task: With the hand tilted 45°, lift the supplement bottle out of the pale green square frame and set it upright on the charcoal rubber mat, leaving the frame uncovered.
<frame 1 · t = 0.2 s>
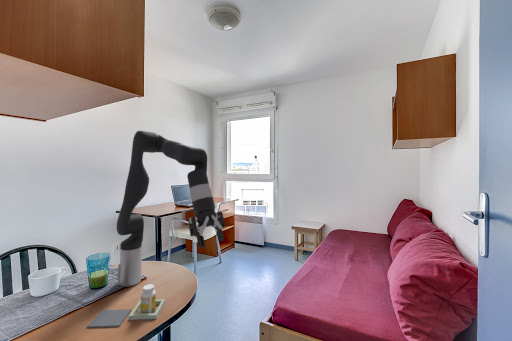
hand: (212, 244, 77), 31 cm above the table, tool tilted 20°, fingers open, 8 cm apart
pale green square frame: (147, 310, 88), on the table
mat: (110, 318, 83), on the table
supplement bottle: (147, 311, 88), resting in pale green square frame
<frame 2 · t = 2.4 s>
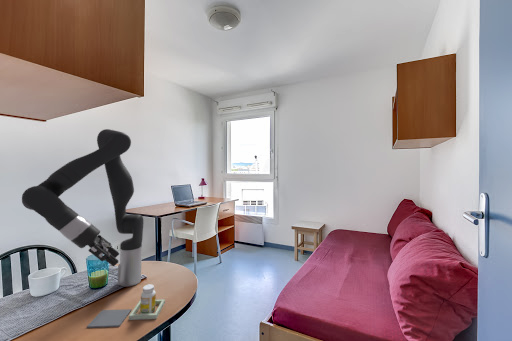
hand: (116, 259, 83), 22 cm above the table, tool tilted 45°, fingers open, 8 cm apart
nothing on the table moved.
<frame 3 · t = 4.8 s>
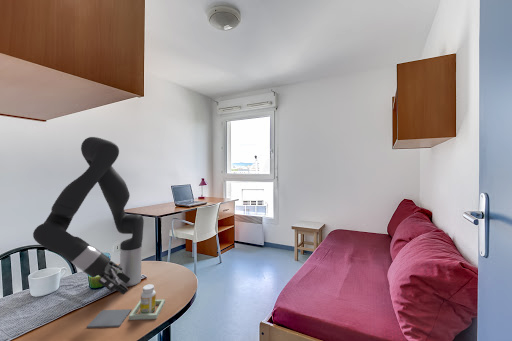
hand: (127, 286, 85), 11 cm above the table, tool tilted 45°, fingers open, 8 cm apart
nothing on the table moved.
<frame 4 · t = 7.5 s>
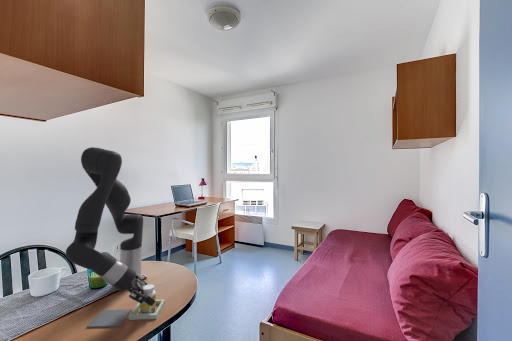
hand: (153, 299, 89), 4 cm above the table, tool tilted 45°, fingers closed on supplement bottle, 5 cm apart
supplement bottle: (147, 311, 88), resting in pale green square frame, touching gripper
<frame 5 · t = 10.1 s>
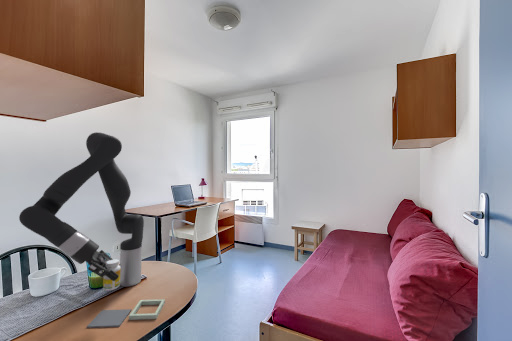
hand: (117, 274, 84), 16 cm above the table, tool tilted 45°, fingers closed on supplement bottle, 5 cm apart
supplement bottle: (111, 287, 83), point 12 cm above the table, touching gripper
when the fingers open (6 cm above the table, at t = 13.0 s): supplement bottle drops 1 cm, resting on mat.
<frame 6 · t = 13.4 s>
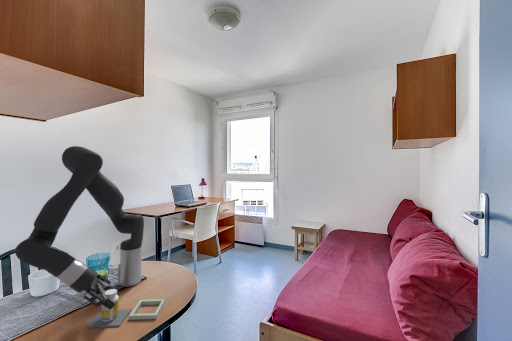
hand: (115, 300, 84), 7 cm above the table, tool tilted 45°, fingers open, 8 cm apart
supplement bottle: (109, 317, 83), resting on mat
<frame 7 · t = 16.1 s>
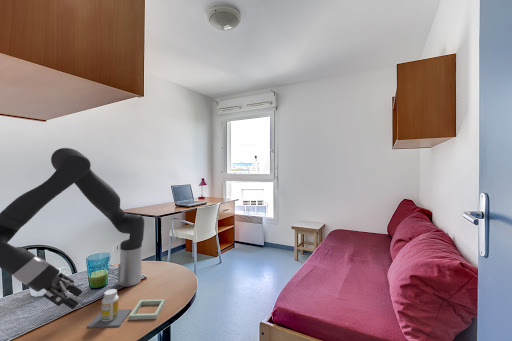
hand: (78, 299, 80), 9 cm above the table, tool tilted 45°, fingers open, 8 cm apart
nothing on the table moved.
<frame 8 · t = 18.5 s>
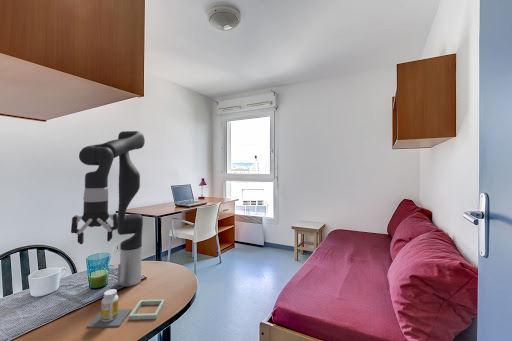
hand: (95, 242, 84), 28 cm above the table, tool pointing down, fingers open, 8 cm apart
nothing on the table moved.
at the end: supplement bottle inside the target area on the mat (0.2 cm from its centre), point 0.3 cm above the mat's base; supplement bottle tilted 0°; the gripper is holding nothing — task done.
